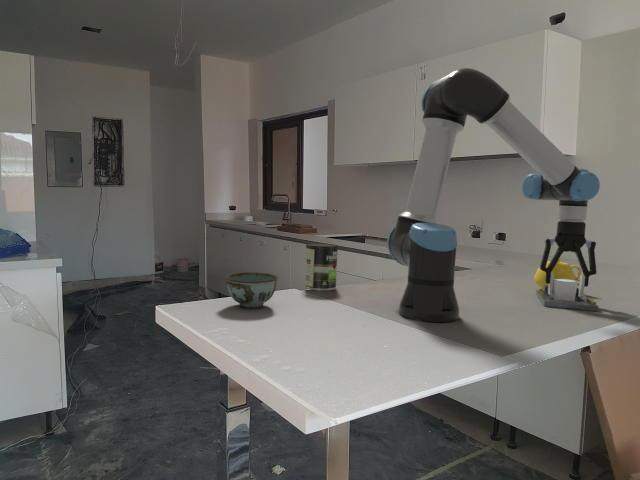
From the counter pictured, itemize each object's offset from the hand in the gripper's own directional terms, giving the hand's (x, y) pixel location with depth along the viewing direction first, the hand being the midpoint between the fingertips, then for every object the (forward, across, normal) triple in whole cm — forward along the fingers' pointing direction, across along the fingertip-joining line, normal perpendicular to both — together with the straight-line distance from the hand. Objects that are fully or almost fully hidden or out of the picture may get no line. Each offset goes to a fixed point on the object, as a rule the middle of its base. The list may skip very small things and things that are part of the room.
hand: (565, 295), depth 147 cm
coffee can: (+3, +74, +13) cm, 75 cm away
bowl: (+3, +83, +46) cm, 95 cm away
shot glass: (+3, 0, 0) cm, 3 cm away
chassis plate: (+2, 0, 0) cm, 2 cm away
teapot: (+2, -1, -20) cm, 20 cm away
